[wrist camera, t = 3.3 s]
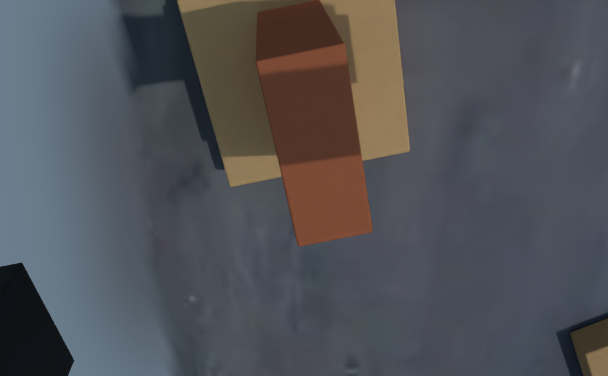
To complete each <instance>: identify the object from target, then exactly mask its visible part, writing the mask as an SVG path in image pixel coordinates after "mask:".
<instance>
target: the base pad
mask: <svg viewBox="0 0 608 376" xmlns="http://www.w3.org/2000/svg"><path fill="white" fill-rule="evenodd" d="M570 335H571V338H572V342H573V345H574V348H575V351H576V354H577V357H578V360H579V364H580V367H581V370H582V373H583V376H608V318H607V319H604V320H602V321H599V322H596V323H594V324H591V325H589V326H586V327H583V328H581V329H578V330H575V331H573V332H571V333H570Z"/></svg>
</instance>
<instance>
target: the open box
mask: <svg viewBox="0 0 608 376" xmlns="http://www.w3.org/2000/svg"><path fill="white" fill-rule="evenodd" d="M177 3H178V7H179V10H180V14H181V17H182V21H183V24H184V28H185V31H186V35H187V38H188V42H189V45H190V49H191V52H192V56H193V59H194V63H195V66H196V70H197V73H198V77H199V80H200V84H201V87H202V91H203V94H204V98H205V101H206V105H207V108H208V112H209V115H210V119H211V122H212V126H213V129H214V133H215V136H216V140H217V143H218V147H219V150H220V154H221V157H222V161H223V164H224V168H225V171H226V175H227V178H228V182H229V185H230V186H231V187H233V186H238V185H243V184H248V183H253V182H258V181H263V180H268V179H273V178H278V177H282V180H283V184H284V188H285V193H286V197H287V201H288V206H289V210H290V214H291V219H292V223H293V227H294V232H295V236H296V240H297V245H298V246H304V245H309V244H315V243H320V242H325V241H330V240H335V239H340V238H345V237H351V236H356V235H361V234H366V233H371V232H372V231H373V228H372V221H371V215H370V208H369V201H368V195H367V188H366V181H365V175H364V168H363V161H364V160H369V159H374V158H379V157H384V156H389V155H394V154H399V153H405V152H409V151H410V144H409V134H408V124H407V114H406V104H405V94H404V84H403V75H402V65H401V55H400V45H399V35H398V25H397V16H396V6H395V0H177Z"/></svg>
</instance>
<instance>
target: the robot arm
mask: <svg viewBox="0 0 608 376" xmlns="http://www.w3.org/2000/svg"><path fill="white" fill-rule="evenodd" d="M73 362H74V360H73V357H72V356H71V354H70V352H69V350H68V348H67V346H66V345H65V343H64V341H63V339H62V337H61V335H60V333H59V331H58V329H57V327H56V326H55V324H54V322H53V320H52V318H51V316H50V314H49V312H48V311H47V309H46V307H45V305H44V303H43V301H42V299H41V298H40V296H39V294H38V292H37V290H36V288H35V286H34V284H33V282H32V281H31V279H30V277H29V275H28V273H27V271H26V270H25V267H24V266H23V264H22V263H17V264H12V265H8V266H2V267H0V376H68V374H69V372H70V369H71V367H72V364H73Z"/></svg>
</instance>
